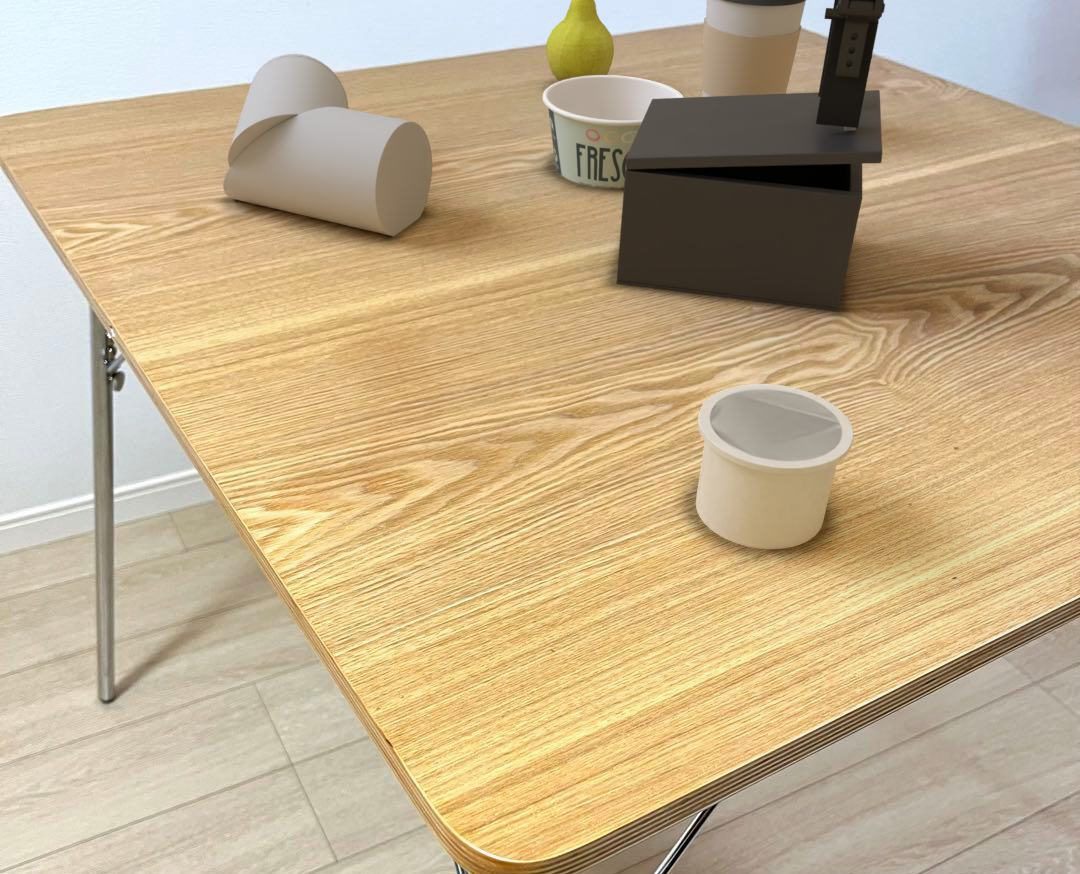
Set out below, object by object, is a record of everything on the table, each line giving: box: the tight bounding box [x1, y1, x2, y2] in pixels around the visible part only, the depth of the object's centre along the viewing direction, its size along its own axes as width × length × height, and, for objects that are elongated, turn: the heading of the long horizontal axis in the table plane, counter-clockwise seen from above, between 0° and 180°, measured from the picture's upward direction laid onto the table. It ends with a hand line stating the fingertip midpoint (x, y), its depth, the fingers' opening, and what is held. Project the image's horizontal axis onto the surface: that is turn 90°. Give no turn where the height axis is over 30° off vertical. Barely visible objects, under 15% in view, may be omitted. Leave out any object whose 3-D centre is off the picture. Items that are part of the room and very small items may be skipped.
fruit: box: [545, 0, 615, 82], centre depth 113 cm, size 7×7×12 cm
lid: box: [626, 89, 883, 169], centre depth 76 cm, size 16×13×8 cm
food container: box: [542, 74, 685, 190], centre depth 97 cm, size 12×12×6 cm
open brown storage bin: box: [615, 164, 863, 313], centre depth 82 cm, size 16×13×9 cm
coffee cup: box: [700, 0, 807, 97], centre depth 103 cm, size 9×9×15 cm
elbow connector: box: [222, 53, 433, 237], centre depth 91 cm, size 18×11×20 cm
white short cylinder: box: [695, 383, 855, 550], centre depth 59 cm, size 8×8×6 cm
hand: (837, 109), depth 77 cm, fingers closed on lid, 5 cm apart
